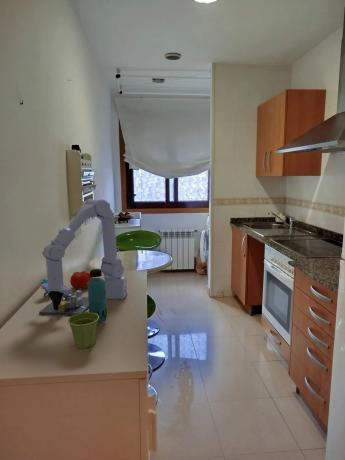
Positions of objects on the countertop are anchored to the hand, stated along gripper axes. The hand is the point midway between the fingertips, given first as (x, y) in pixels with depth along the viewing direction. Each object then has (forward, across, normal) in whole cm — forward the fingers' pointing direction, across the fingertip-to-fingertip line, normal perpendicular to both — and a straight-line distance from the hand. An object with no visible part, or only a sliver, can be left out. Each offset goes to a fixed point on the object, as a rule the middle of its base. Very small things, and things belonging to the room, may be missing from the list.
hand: (57, 309), depth 129 cm
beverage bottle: (+2, +20, +1) cm, 20 cm away
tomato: (+2, -15, +28) cm, 32 cm away
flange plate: (+2, -2, +7) cm, 8 cm away
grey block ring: (+1, -1, +6) cm, 6 cm away
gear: (+2, -19, +14) cm, 24 cm away
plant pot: (+2, +27, -13) cm, 30 cm away
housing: (+2, -2, +7) cm, 8 cm away
